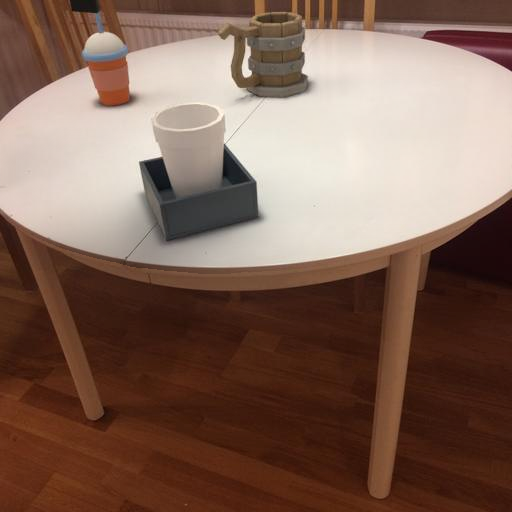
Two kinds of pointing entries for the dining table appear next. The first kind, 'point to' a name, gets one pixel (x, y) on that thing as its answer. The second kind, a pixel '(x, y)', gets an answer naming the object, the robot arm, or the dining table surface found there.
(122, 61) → the cup with straw
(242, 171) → the bin
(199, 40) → the dining table surface
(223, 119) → the foam cup
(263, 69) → the tankard
